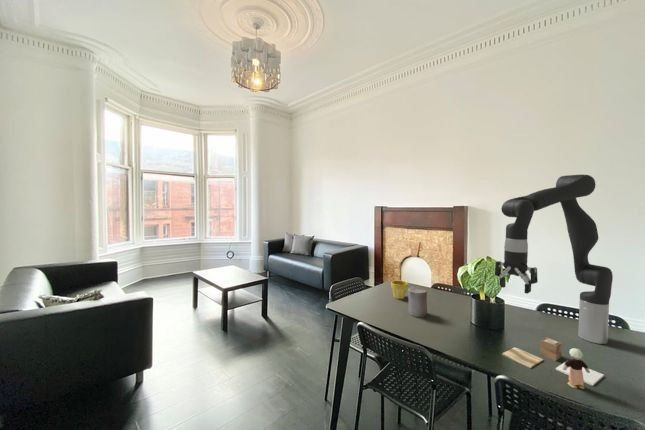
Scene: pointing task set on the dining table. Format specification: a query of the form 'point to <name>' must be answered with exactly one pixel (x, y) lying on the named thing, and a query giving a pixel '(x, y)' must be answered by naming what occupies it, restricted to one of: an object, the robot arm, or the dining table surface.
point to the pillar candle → (417, 301)
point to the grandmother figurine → (576, 368)
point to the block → (550, 348)
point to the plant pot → (399, 288)
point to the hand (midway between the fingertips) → (514, 290)
